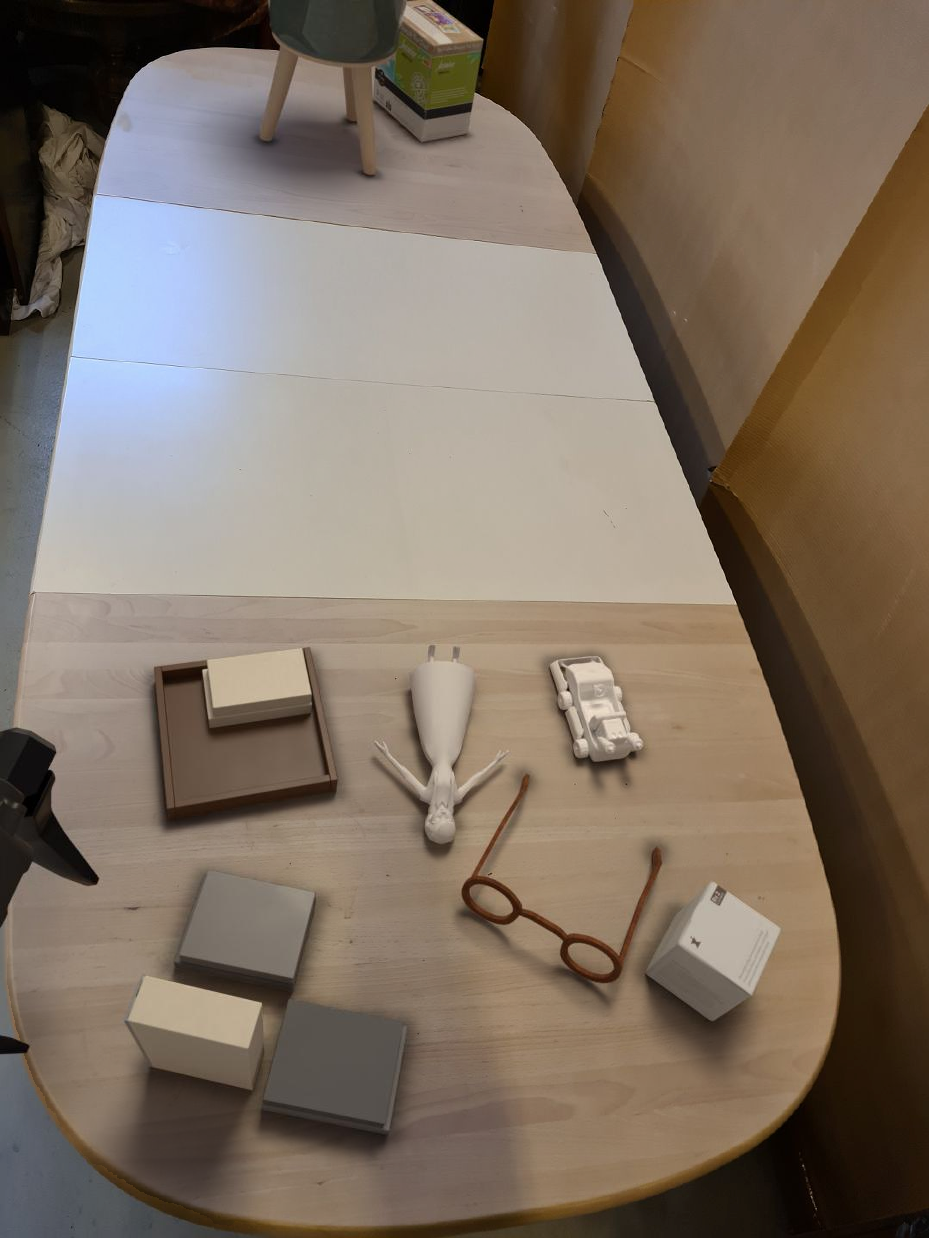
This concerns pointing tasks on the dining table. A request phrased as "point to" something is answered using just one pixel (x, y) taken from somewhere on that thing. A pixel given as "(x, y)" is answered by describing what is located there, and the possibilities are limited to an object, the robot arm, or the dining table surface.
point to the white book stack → (256, 687)
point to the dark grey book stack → (336, 1067)
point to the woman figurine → (441, 737)
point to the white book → (197, 1031)
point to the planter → (335, 54)
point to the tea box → (430, 73)
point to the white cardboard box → (714, 952)
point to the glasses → (547, 924)
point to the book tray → (236, 749)
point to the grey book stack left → (246, 931)
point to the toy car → (594, 709)
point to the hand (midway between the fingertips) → (61, 961)
